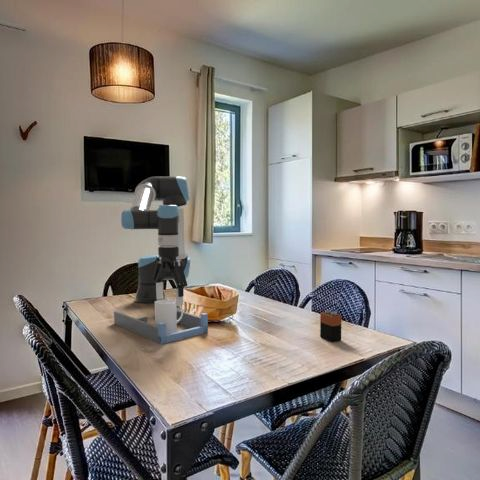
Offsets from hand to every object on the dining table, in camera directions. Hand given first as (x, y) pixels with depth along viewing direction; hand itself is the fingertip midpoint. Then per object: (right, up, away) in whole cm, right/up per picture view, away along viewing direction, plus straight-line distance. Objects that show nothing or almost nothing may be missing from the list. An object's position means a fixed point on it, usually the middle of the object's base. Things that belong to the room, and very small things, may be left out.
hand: (169, 302), depth 149 cm
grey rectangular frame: (-6, -11, +7) cm, 14 cm away
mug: (0, -12, 0) cm, 12 cm away
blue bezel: (+6, -12, -7) cm, 15 cm away
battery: (+59, -12, -9) cm, 61 cm away
